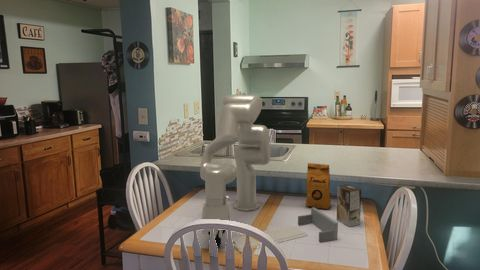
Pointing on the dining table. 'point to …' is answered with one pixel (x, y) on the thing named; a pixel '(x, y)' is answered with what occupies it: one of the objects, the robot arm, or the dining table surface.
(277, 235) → the baseboard molding
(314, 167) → the coffee package
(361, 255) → the dining table surface
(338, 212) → the coffee box
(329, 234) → the u-shaped bracket
